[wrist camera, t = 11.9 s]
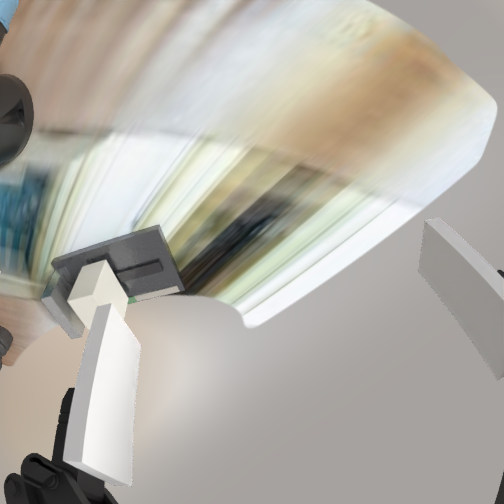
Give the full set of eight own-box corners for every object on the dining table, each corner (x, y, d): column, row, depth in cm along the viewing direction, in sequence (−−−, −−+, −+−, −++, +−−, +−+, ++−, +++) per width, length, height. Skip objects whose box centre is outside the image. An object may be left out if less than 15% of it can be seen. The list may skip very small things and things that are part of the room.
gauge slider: (110, 310, 53) (101, 346, 45) (82, 266, 47) (67, 301, 39) (132, 305, 53) (125, 342, 45) (106, 258, 47) (92, 294, 39)
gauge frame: (87, 308, 55) (75, 344, 47) (54, 258, 47) (35, 292, 40) (185, 284, 55) (184, 322, 47) (159, 224, 47) (151, 258, 40)
